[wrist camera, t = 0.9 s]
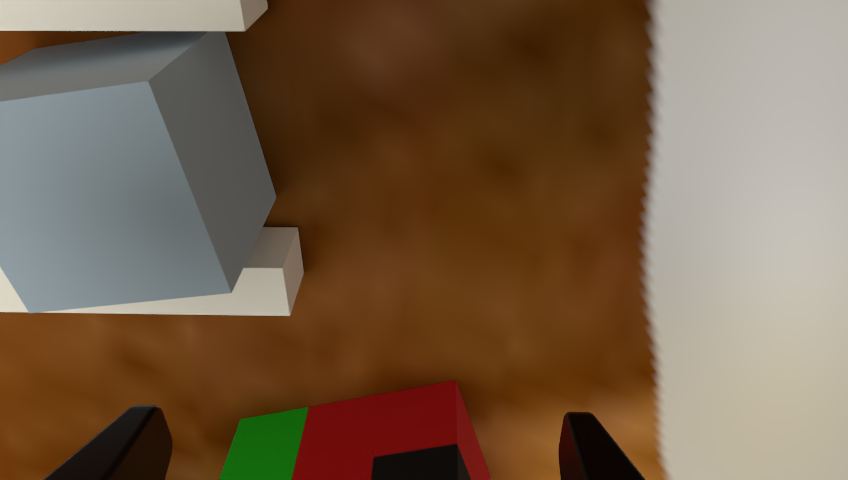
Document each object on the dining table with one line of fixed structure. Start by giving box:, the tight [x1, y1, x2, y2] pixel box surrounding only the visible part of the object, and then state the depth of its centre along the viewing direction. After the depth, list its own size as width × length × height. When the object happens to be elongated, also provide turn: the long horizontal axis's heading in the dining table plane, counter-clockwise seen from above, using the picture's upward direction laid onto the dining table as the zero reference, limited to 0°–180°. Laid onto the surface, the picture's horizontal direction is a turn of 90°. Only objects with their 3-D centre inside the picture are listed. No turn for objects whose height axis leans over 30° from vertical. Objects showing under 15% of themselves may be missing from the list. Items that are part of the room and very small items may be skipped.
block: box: [0, 31, 276, 313], centre depth 18 cm, size 6×6×6 cm
